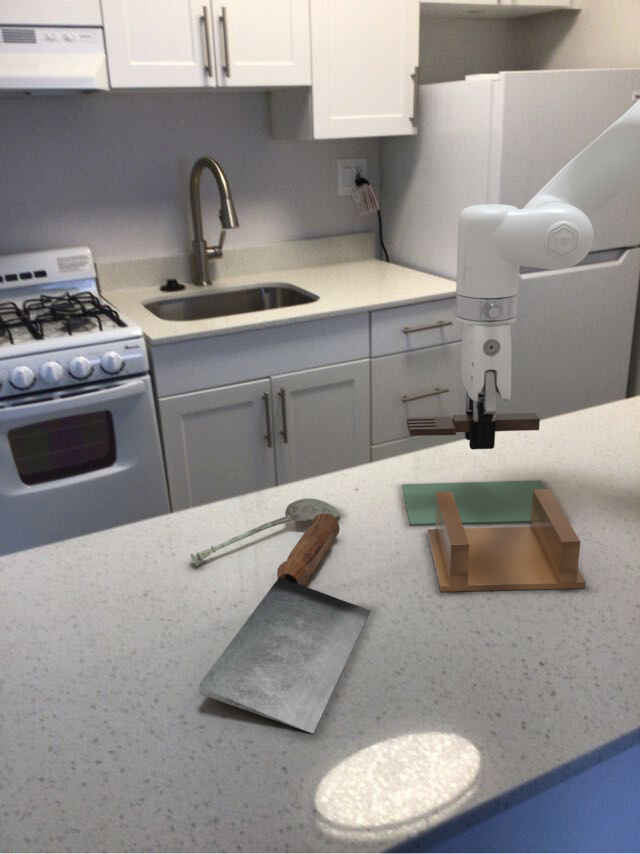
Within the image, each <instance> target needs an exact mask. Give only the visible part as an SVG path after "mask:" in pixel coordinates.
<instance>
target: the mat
mask: <svg viewBox="0 0 640 854" xmlns="http://www.w3.org/2000/svg"><path fill="white" fill-rule="evenodd" d="M401 487H402V492H403V497H404V502H405V508H406V512H407V517H408V518H407V519H408V524H409V526H435V522H436V492H452V494H453V497H454V500H455V503H456V506H457V509H458V512H459V515H460V518H461V521H462V524H463V525H477V524H478V525H482V524H486V525H487V524H488V525H489V524H522V523H523V524H524V523H531V510H532V495H533V490H536V489H546V487H545V485H544V483H543V482H542V480H539V479H538V480H511V481H510V480H509V481H507V480H506V481H473V482H469V481H468V482H440V483H439V482H438V483H402V484H401Z"/></svg>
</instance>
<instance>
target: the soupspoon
mask: <svg viewBox="0 0 640 854" xmlns="http://www.w3.org/2000/svg"><path fill="white" fill-rule="evenodd" d="M284 512H285V513H284V515H285V516H282V517H280V518H277V519H274V520H271V521H269V522H266V523H264V524H261V525H259V526H256V527H255V528H252V529H250V530H247V531H246V532H243V533H241V534H239V535H236V536H234V537H232V538H230V539H228V540H226V541H223V542H221V543H219V544H217V545H215V546H214V545H211V546H210V548H208V549H207V548H206V549H203V550H202V551H200V552H196V555H195V554H194V553H193V552H192V553H191V552H190V559H191V561H192V562H193V564H194V565H195V566H196V567H199V565H200V562H203V561H204V559H206V558H207V557H209V556H211V554H212V553H214V554H215V553H217V551H219V550H221V549H223V548H225V547H228V546H230V545H232V544H235V543H237V542H240V541H242V540H244V539H246V538H249V537H251V536H254V535H255V534H258V533H260V532H263V531H265V530H268V529H270V528H273V527H275V526H279V525H282V524H285V523H289V522H305V521H313V519H314V517H316V516H317V515H319V514H331V515H333V516H334V517H336V519H337V518H339V517H340V516H341V513H340V511H339V510H338V509H337V508H335V507H334V506H333V505H331V504H330V503H329V502H327V501H324V500H321V499H318V498H311V497H310V498H309V497H308V498H300V499H297V500H295V501H293V502H291V503H289V504H288V505H287V507H286V508H285V510H284Z"/></svg>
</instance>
